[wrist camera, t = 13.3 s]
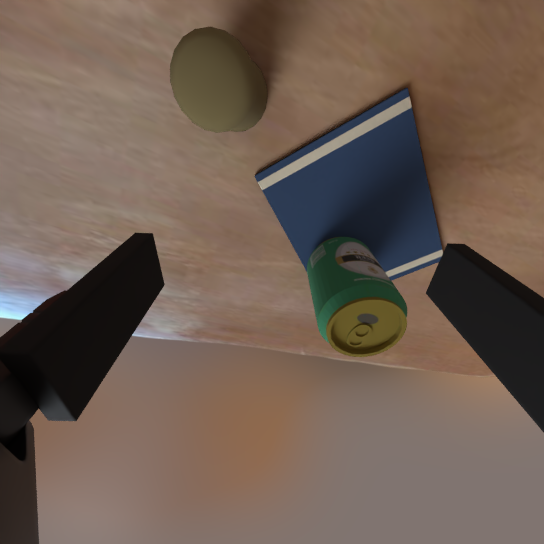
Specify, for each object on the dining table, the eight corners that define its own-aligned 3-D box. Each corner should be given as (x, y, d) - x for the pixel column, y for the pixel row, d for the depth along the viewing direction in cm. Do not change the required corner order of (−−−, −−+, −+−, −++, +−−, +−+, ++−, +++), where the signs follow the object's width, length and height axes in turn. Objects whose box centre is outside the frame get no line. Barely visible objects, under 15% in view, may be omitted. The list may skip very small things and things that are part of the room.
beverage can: (381, 242, 31) (433, 305, 21) (353, 293, 35) (385, 367, 25) (318, 226, 30) (341, 283, 20) (297, 280, 34) (307, 352, 24)
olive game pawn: (280, 88, 23) (284, 70, 14) (242, 145, 26) (224, 162, 17) (225, 33, 21) (186, -30, 12) (190, 101, 24) (136, 92, 15)
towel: (254, 175, 27) (254, 176, 27) (405, 87, 23) (408, 87, 23) (325, 303, 37) (325, 306, 36) (442, 257, 32) (444, 259, 32)
